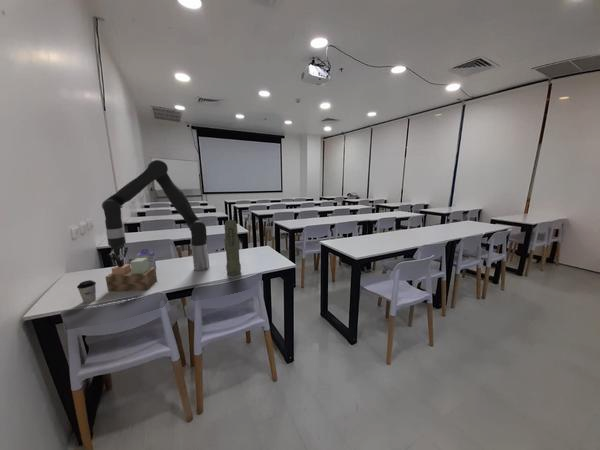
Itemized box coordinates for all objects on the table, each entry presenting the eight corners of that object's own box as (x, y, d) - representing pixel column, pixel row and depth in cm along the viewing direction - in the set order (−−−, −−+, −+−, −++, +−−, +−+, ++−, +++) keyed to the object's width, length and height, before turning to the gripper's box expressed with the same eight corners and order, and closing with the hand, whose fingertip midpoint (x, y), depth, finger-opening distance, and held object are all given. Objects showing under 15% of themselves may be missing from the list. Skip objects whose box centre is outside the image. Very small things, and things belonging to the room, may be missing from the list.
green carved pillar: (239, 269, 154) (236, 218, 148) (242, 275, 144) (238, 221, 137) (226, 271, 151) (222, 219, 144) (227, 278, 140) (223, 222, 134)
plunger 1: (132, 280, 132) (130, 264, 130) (126, 284, 126) (123, 268, 124) (121, 280, 131) (118, 264, 130) (114, 285, 126) (111, 268, 124)
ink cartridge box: (156, 268, 157) (153, 248, 154) (155, 270, 152) (152, 250, 150) (139, 270, 153) (136, 250, 150) (137, 273, 148) (134, 252, 145)
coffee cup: (77, 302, 113) (73, 284, 111) (93, 296, 119) (90, 278, 117) (85, 305, 110) (81, 286, 108) (102, 298, 117) (98, 280, 115)
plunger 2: (150, 273, 133) (147, 257, 131) (144, 278, 127) (141, 261, 125) (139, 274, 132) (136, 258, 130) (132, 278, 126) (130, 261, 124)
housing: (157, 281, 136) (155, 267, 135) (147, 290, 126) (145, 274, 124) (121, 283, 134) (119, 268, 132) (108, 292, 123) (105, 276, 122)
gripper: (115, 239, 117) (120, 270, 121) (130, 233, 130) (135, 261, 134) (99, 239, 117) (105, 271, 120) (116, 233, 130) (121, 262, 133)
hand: (121, 266), depth 127 cm, fingers closed
